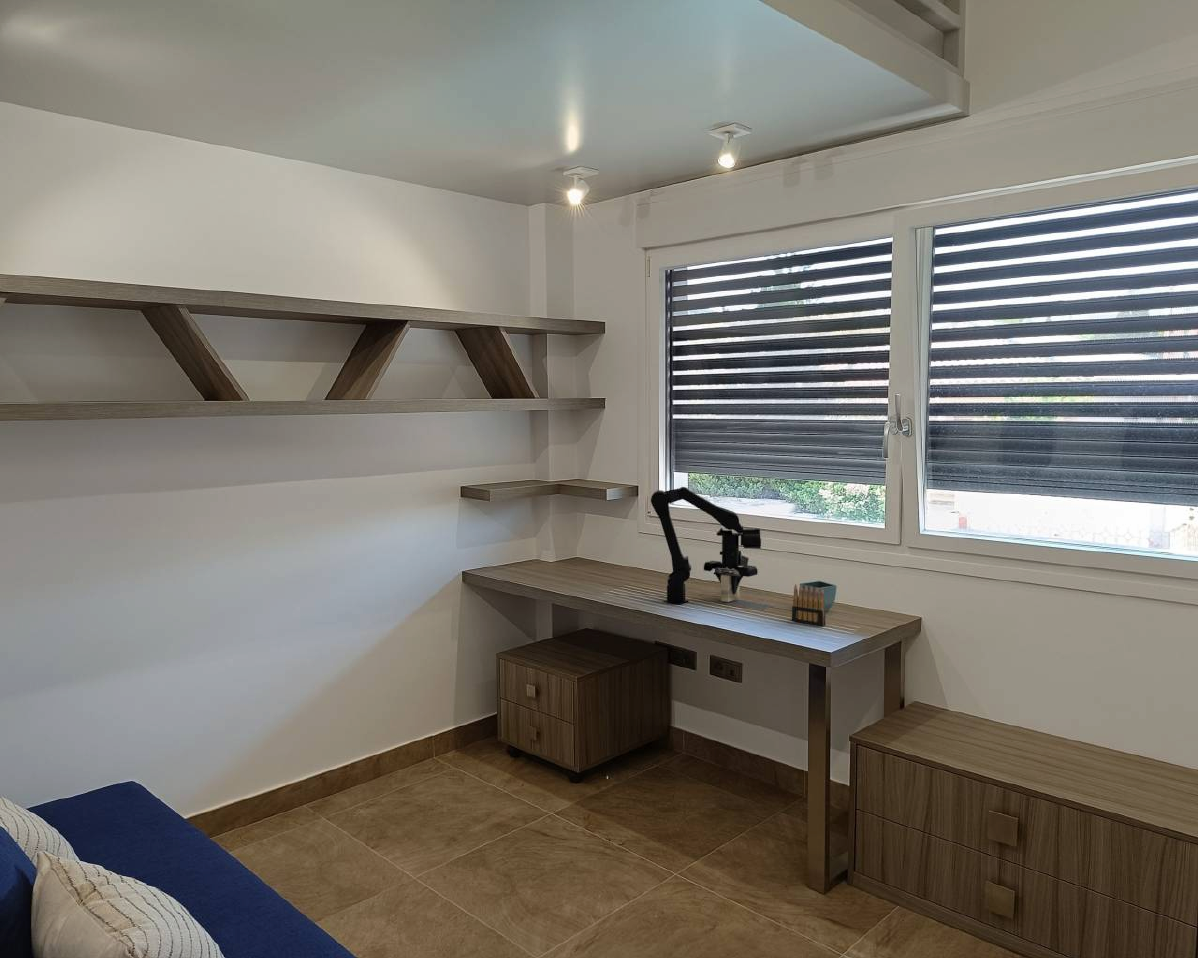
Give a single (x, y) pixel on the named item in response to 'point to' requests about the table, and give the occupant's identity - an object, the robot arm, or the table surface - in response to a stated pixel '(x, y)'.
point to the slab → (728, 588)
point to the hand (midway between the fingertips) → (730, 593)
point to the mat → (746, 604)
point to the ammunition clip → (808, 607)
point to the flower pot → (827, 589)
